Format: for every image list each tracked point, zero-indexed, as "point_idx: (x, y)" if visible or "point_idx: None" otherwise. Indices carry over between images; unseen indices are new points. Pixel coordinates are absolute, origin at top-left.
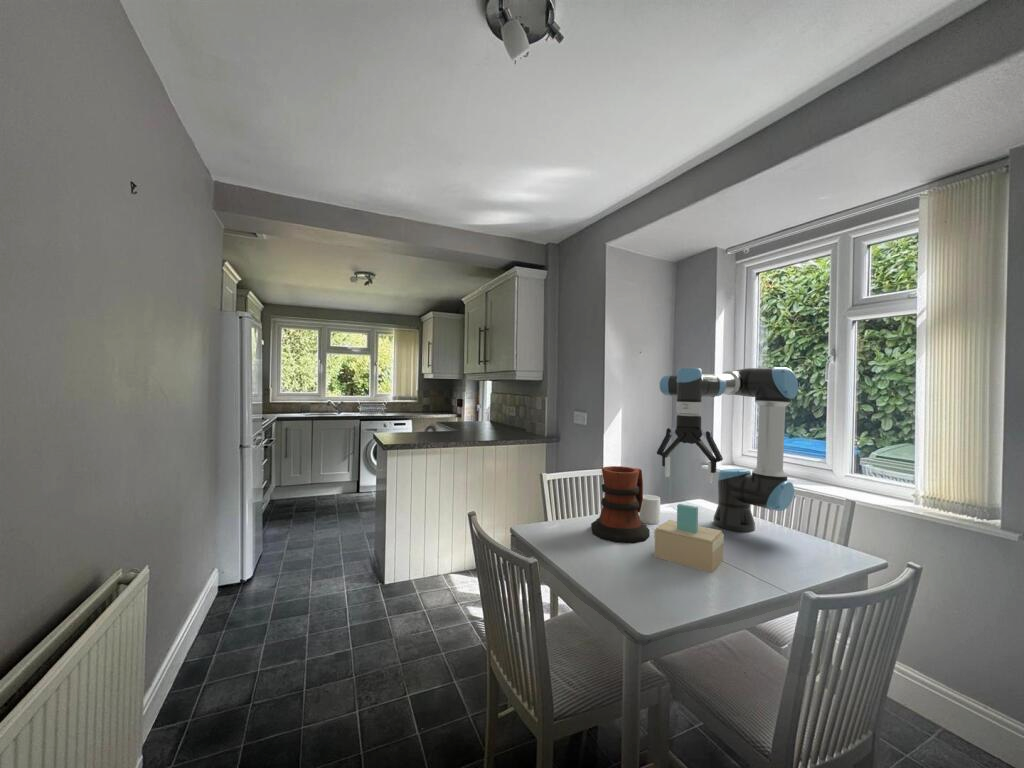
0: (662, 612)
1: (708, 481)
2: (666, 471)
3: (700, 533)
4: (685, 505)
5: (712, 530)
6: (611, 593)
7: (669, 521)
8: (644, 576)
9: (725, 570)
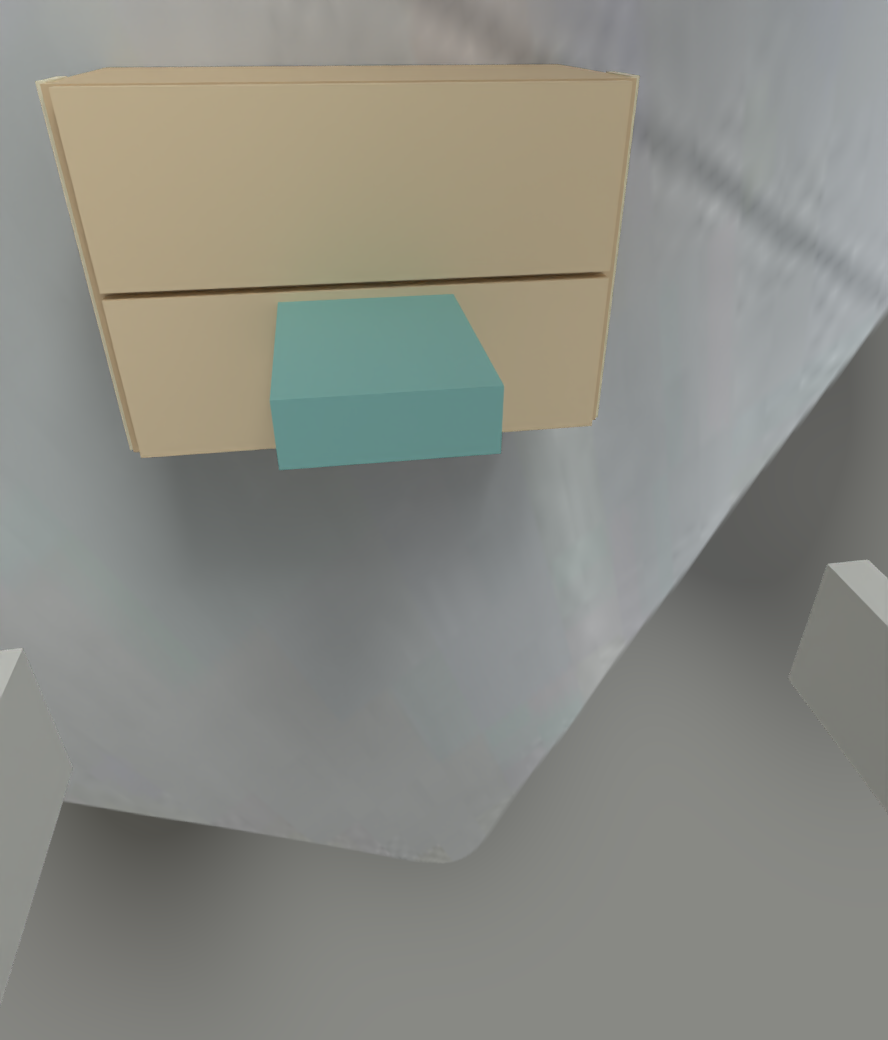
0: (467, 769)
1: (815, 703)
2: (24, 876)
3: (483, 320)
4: (361, 420)
5: (554, 145)
6: (270, 792)
7: (96, 164)
8: (280, 615)
9: None
